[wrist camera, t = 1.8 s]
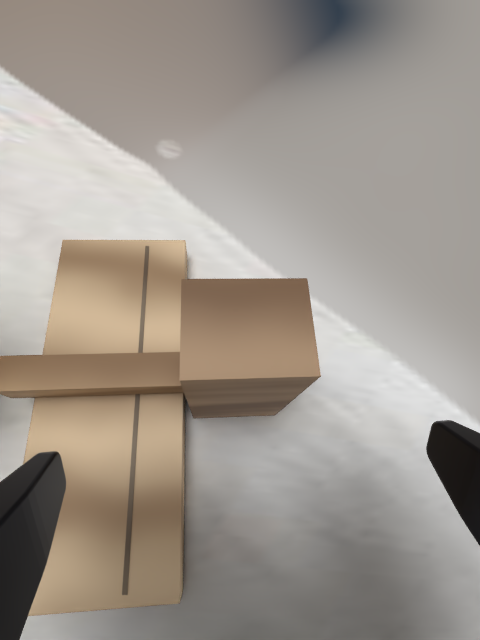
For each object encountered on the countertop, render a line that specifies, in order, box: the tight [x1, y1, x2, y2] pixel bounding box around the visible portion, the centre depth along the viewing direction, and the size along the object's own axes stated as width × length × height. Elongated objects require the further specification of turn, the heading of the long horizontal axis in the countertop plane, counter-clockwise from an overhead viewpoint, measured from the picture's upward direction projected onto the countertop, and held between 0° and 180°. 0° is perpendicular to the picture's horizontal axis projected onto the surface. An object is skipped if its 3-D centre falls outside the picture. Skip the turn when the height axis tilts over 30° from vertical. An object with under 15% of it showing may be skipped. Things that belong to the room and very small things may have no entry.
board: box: [23, 240, 187, 616], centre depth 21 cm, size 20×8×2 cm, turn 3°
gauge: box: [0, 278, 321, 418], centre depth 17 cm, size 4×15×10 cm, turn 93°
